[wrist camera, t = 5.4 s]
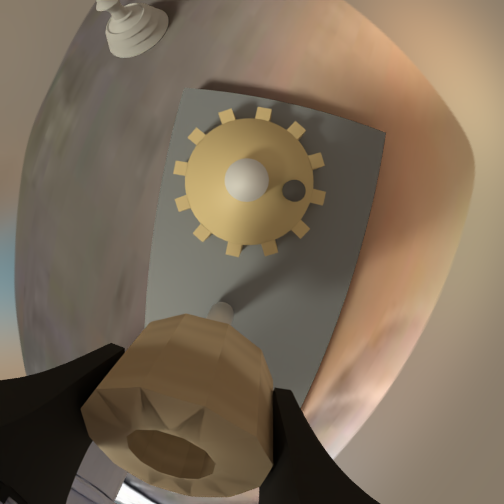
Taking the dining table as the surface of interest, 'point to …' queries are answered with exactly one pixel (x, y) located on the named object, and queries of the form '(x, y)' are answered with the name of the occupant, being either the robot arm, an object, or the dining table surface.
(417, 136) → the dining table surface
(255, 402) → the wooden ring spacer
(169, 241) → the gear board
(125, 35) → the chalice
